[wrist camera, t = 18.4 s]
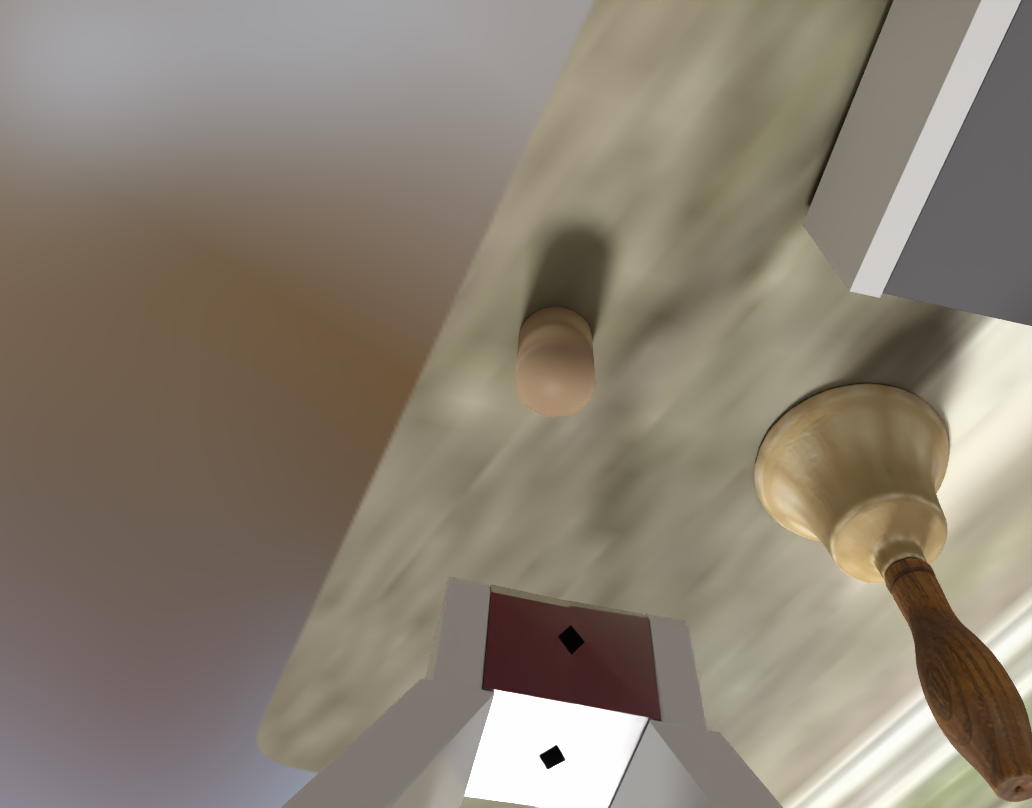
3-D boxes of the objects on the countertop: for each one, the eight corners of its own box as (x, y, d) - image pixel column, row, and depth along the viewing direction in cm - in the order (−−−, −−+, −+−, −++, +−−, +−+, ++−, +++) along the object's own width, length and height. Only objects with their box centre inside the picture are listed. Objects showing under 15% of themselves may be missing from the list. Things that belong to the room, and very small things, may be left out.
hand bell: (940, 360, 36) (1179, 662, 22) (954, 514, 40) (1162, 850, 26) (737, 410, 37) (842, 720, 24) (770, 553, 41) (875, 889, 28)
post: (511, 364, 36) (508, 408, 33) (527, 299, 35) (525, 339, 32) (581, 378, 37) (584, 423, 34) (600, 315, 35) (604, 356, 32)
